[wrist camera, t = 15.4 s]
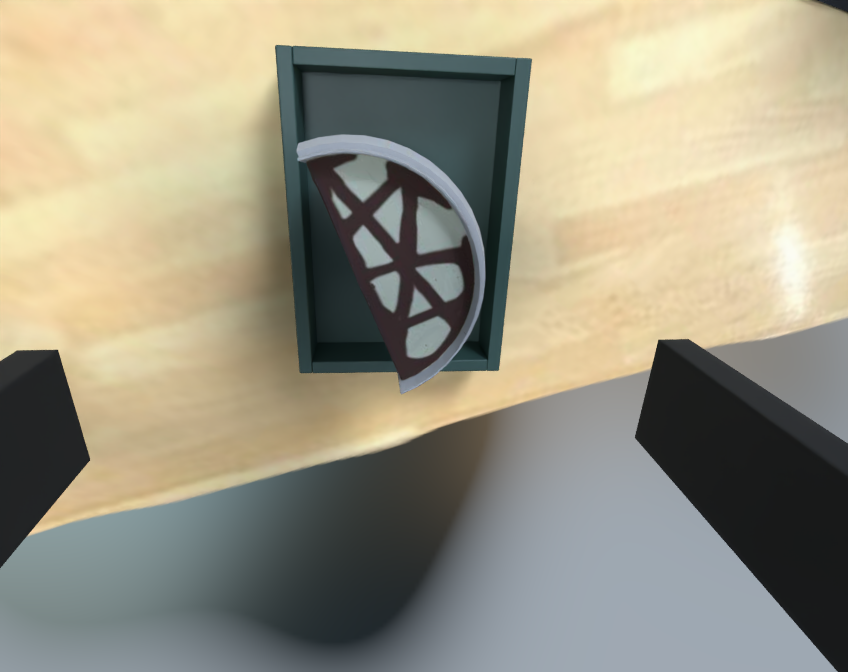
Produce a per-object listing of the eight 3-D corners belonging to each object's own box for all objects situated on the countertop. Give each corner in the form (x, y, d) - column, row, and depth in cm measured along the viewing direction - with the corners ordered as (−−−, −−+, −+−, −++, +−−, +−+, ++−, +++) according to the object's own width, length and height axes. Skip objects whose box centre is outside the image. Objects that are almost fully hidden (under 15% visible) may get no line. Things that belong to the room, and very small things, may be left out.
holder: (306, 349, 33) (299, 373, 30) (286, 55, 26) (274, 44, 23) (486, 347, 34) (499, 371, 31) (513, 67, 28) (532, 58, 24)
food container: (482, 293, 32) (526, 359, 23) (395, 325, 32) (405, 403, 23) (419, 99, 27) (443, 84, 18) (317, 139, 27) (290, 144, 18)
